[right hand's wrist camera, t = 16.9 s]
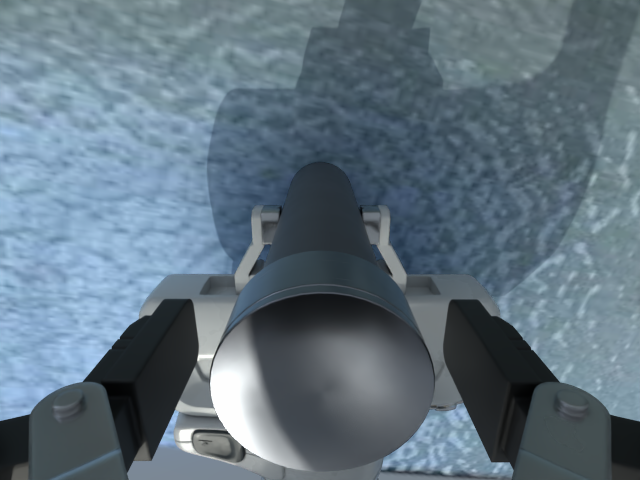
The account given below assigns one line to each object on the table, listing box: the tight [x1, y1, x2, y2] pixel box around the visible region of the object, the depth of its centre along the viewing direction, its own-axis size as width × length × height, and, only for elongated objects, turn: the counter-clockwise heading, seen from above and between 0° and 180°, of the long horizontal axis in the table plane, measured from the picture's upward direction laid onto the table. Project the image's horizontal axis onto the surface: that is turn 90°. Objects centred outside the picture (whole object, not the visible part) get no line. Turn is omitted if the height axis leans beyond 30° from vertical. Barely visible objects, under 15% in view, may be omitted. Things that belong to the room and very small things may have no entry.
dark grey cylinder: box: [264, 162, 379, 268], centre depth 18 cm, size 4×4×19 cm
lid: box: [209, 250, 435, 472], centre depth 10 cm, size 5×5×2 cm
